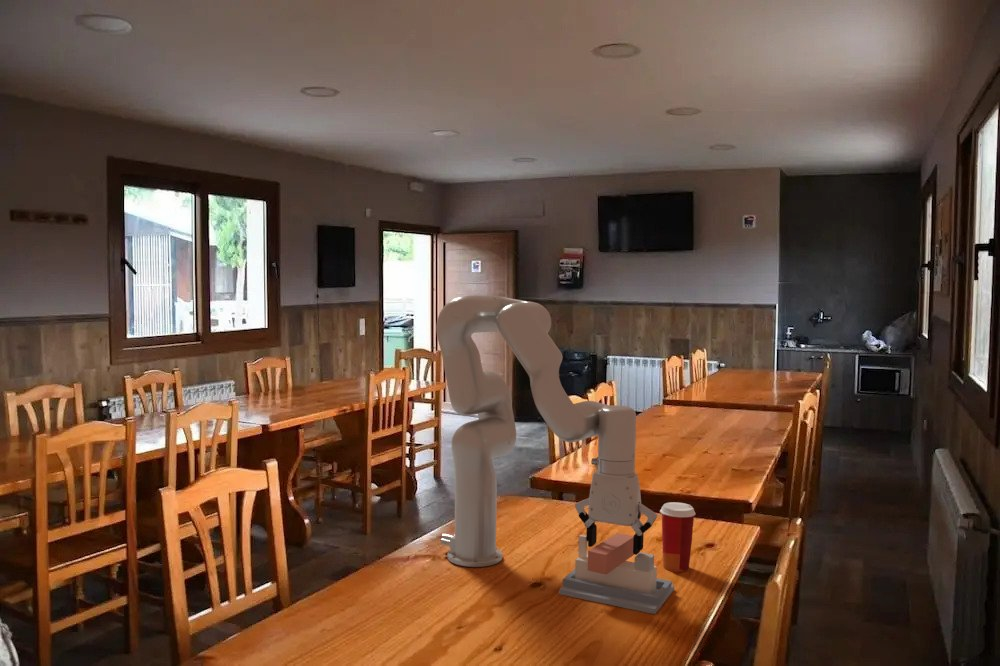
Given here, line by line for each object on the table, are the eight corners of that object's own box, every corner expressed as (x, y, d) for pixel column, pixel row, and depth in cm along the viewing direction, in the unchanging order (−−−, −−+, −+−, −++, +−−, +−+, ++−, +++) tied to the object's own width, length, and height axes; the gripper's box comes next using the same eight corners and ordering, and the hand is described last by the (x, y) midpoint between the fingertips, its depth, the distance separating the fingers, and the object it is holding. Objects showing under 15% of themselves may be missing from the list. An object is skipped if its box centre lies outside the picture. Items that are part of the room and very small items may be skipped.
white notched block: (574, 583, 167) (575, 538, 166) (582, 576, 171) (583, 532, 170) (649, 598, 159) (651, 551, 159) (656, 590, 163) (657, 544, 163)
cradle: (558, 594, 163) (559, 582, 163) (583, 572, 176) (583, 561, 175) (654, 614, 154) (655, 601, 154) (673, 589, 167) (674, 577, 166)
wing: (616, 551, 172) (617, 532, 172) (633, 554, 170) (634, 536, 170) (587, 570, 160) (588, 550, 160) (605, 574, 158) (606, 554, 158)
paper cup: (688, 561, 183) (690, 501, 183) (697, 574, 176) (699, 511, 175) (654, 561, 183) (656, 501, 182) (662, 573, 176) (664, 511, 175)
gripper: (569, 465, 164) (568, 547, 165) (652, 475, 156) (650, 561, 157) (583, 458, 171) (581, 537, 172) (662, 467, 163) (660, 550, 164)
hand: (614, 548), depth 165 cm, fingers open, 9 cm apart
